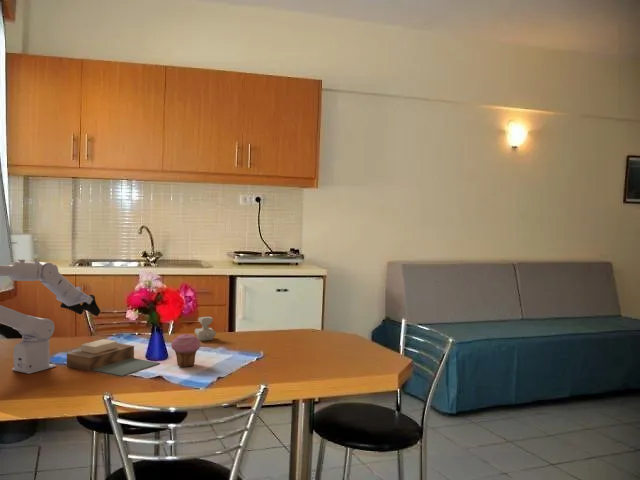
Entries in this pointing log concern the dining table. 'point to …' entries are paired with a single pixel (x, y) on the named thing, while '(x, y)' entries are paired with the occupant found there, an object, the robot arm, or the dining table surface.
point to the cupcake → (185, 349)
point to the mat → (126, 366)
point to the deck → (99, 357)
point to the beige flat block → (98, 346)
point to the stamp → (205, 329)
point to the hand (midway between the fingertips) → (90, 312)
